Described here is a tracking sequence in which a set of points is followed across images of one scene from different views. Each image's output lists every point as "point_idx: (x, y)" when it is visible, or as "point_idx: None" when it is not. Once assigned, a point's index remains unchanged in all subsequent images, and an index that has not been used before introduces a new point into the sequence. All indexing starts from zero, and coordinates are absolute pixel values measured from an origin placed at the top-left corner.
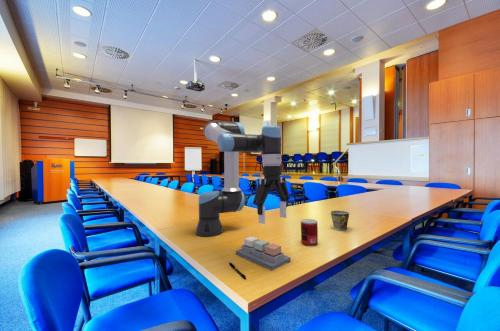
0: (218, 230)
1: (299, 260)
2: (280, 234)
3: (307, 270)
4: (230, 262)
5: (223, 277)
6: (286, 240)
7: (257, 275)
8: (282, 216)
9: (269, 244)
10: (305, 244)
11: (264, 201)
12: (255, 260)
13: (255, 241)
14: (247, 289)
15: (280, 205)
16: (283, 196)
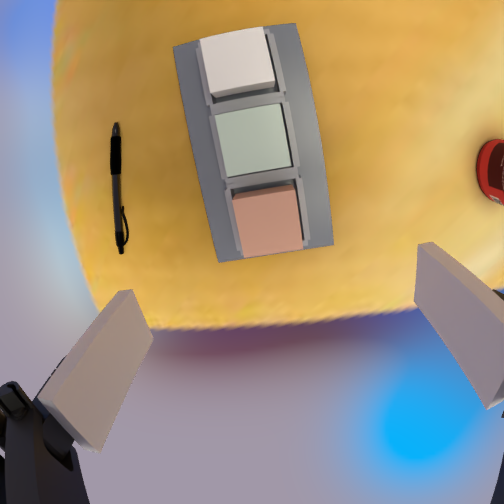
0: None
1: (361, 253)
2: (474, 23)
3: (319, 315)
4: (115, 130)
5: (75, 207)
6: (461, 79)
7: (162, 253)
8: (420, 278)
9: (268, 195)
10: (478, 173)
11: (81, 490)
12: (199, 172)
13: (246, 87)
14: (112, 293)
15: (484, 319)
16: (502, 473)
